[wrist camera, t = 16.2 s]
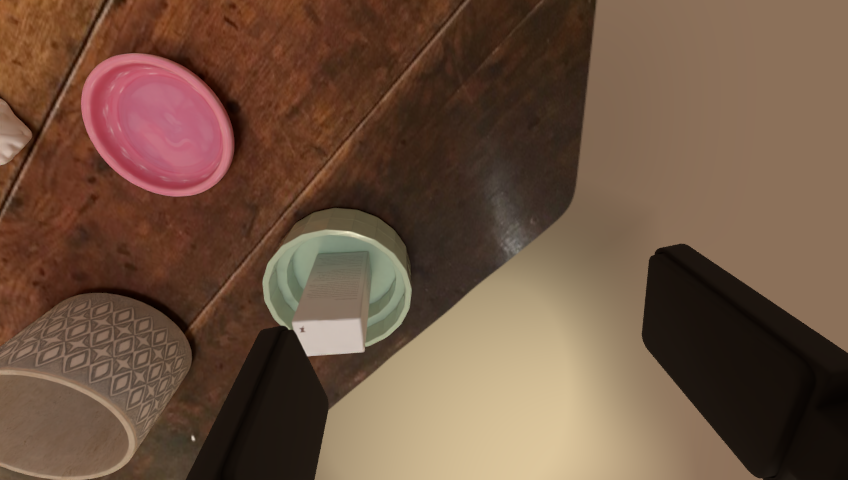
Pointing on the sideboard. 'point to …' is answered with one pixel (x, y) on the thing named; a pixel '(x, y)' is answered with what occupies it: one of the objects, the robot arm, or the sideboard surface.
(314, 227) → the bowl
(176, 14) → the sideboard surface
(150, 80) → the saucer
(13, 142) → the bust
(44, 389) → the planter
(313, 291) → the cosmetic box
